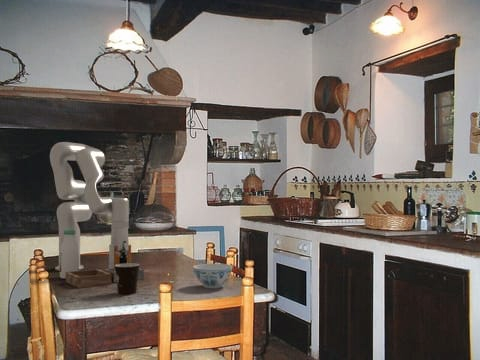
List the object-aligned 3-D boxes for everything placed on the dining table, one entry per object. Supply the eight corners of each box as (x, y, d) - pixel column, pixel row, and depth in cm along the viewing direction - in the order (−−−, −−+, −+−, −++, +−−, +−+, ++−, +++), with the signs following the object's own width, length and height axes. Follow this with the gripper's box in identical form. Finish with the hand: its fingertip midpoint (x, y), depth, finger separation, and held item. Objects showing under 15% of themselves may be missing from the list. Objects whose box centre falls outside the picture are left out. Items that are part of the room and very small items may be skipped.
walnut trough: (65, 282, 201) (65, 272, 201) (97, 278, 209) (97, 269, 209) (78, 288, 188) (78, 277, 188) (111, 284, 196) (111, 274, 196)
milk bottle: (82, 276, 214) (82, 230, 215) (71, 279, 207) (71, 231, 207) (67, 275, 217) (67, 229, 217) (55, 278, 209) (55, 230, 210)
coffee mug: (116, 290, 183) (117, 263, 183) (140, 290, 183) (140, 263, 184) (111, 297, 171) (111, 268, 171) (136, 297, 172) (136, 268, 172)
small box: (113, 275, 216) (113, 245, 216) (108, 273, 221) (108, 244, 222) (131, 273, 220) (131, 244, 221) (126, 272, 226) (126, 243, 226)
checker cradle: (103, 278, 208) (103, 269, 208) (133, 275, 215) (133, 266, 216) (113, 282, 199) (113, 272, 199) (143, 279, 206) (143, 269, 207)
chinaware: (207, 281, 200) (207, 262, 201) (239, 285, 193) (239, 265, 193) (185, 288, 188) (185, 267, 188) (218, 292, 180) (218, 270, 180)
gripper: (104, 224, 226) (104, 264, 226) (119, 226, 212) (119, 269, 212) (120, 224, 231) (120, 262, 230) (136, 226, 217) (135, 267, 216)
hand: (120, 265), depth 221 cm, fingers closed on small box, 6 cm apart
